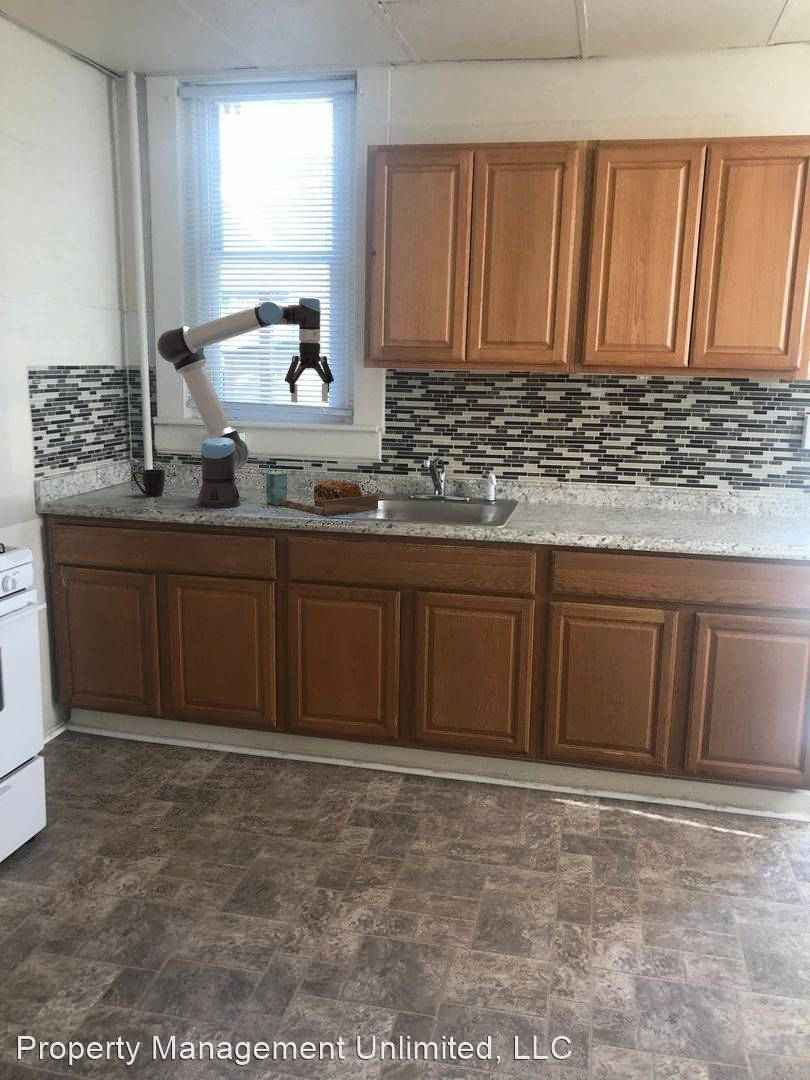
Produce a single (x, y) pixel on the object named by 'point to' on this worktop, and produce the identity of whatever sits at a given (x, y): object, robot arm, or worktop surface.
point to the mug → (152, 482)
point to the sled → (278, 495)
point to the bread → (334, 490)
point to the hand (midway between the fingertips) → (309, 402)
